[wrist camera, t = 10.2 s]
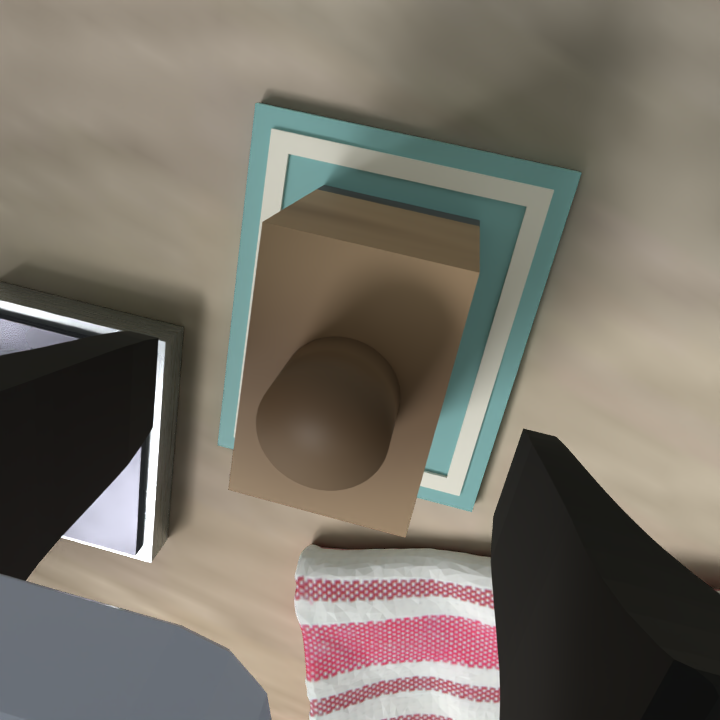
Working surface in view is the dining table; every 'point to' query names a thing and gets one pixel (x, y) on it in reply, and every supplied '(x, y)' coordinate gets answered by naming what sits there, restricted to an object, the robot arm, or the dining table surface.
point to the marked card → (433, 191)
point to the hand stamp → (351, 353)
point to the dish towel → (398, 634)
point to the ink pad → (156, 455)
